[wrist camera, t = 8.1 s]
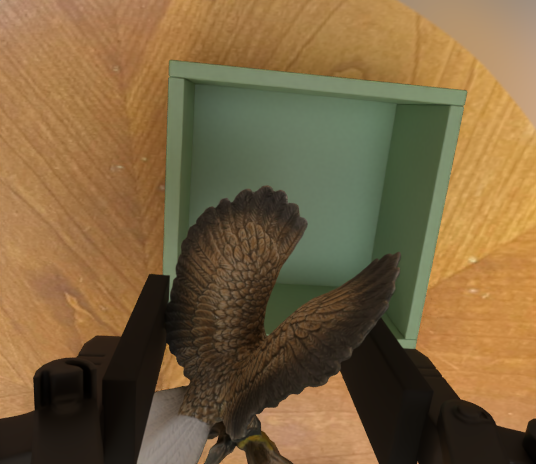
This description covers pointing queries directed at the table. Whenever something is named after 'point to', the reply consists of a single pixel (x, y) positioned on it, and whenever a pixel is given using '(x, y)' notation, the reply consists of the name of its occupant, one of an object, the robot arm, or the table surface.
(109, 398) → the robot arm
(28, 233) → the table surface
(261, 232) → the eagle figurine
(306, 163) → the bin
